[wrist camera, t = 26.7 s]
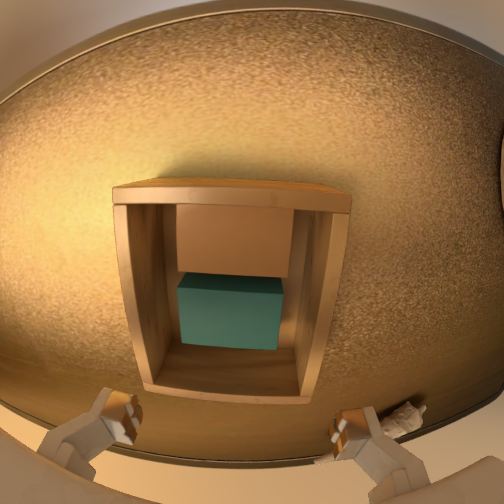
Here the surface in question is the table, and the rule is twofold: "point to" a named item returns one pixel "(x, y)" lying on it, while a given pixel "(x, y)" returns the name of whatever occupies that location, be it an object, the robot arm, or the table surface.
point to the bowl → (502, 172)
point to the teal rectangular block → (230, 310)
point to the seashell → (392, 425)
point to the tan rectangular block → (234, 240)
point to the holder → (168, 277)
